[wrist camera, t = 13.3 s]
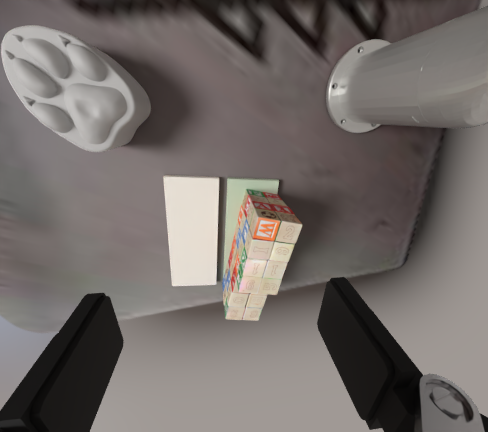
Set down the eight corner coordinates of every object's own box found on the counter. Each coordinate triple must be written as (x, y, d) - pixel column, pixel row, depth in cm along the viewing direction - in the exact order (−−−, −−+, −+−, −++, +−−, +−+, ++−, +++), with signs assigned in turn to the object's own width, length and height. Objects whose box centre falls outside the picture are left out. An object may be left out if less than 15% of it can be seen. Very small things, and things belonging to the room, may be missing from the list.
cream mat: (218, 177, 38) (219, 178, 37) (216, 281, 47) (216, 284, 46) (164, 174, 36) (163, 176, 36) (173, 282, 46) (172, 286, 45)
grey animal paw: (120, 154, 34) (93, 166, 27) (30, 87, 29) (-35, 78, 22) (160, 101, 32) (143, 97, 24) (70, 18, 27) (12, -20, 19)
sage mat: (277, 179, 39) (279, 180, 38) (263, 279, 49) (264, 283, 48) (227, 177, 38) (228, 178, 37) (223, 281, 47) (223, 284, 47)
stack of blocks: (250, 285, 48) (261, 337, 37) (221, 282, 46) (224, 335, 35) (278, 193, 39) (304, 224, 28) (245, 187, 38) (258, 217, 27)
